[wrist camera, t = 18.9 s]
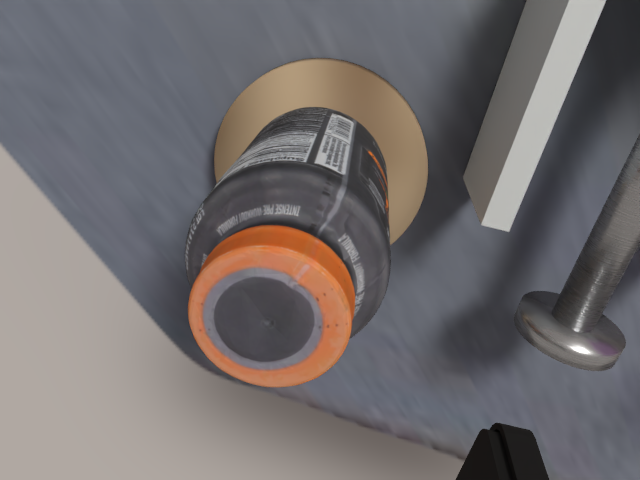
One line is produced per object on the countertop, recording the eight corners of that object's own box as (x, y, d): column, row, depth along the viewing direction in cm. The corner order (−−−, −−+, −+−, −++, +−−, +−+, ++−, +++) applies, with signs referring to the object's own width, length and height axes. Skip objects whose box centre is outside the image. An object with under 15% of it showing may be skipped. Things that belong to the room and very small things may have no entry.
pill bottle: (374, 248, 24) (369, 441, 14) (243, 228, 25) (144, 403, 14) (399, 114, 22) (415, 232, 12) (252, 93, 22) (140, 191, 12)
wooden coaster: (208, 231, 26) (201, 240, 25) (236, 33, 22) (230, 36, 21) (393, 277, 26) (393, 288, 25) (455, 88, 22) (458, 92, 21)
